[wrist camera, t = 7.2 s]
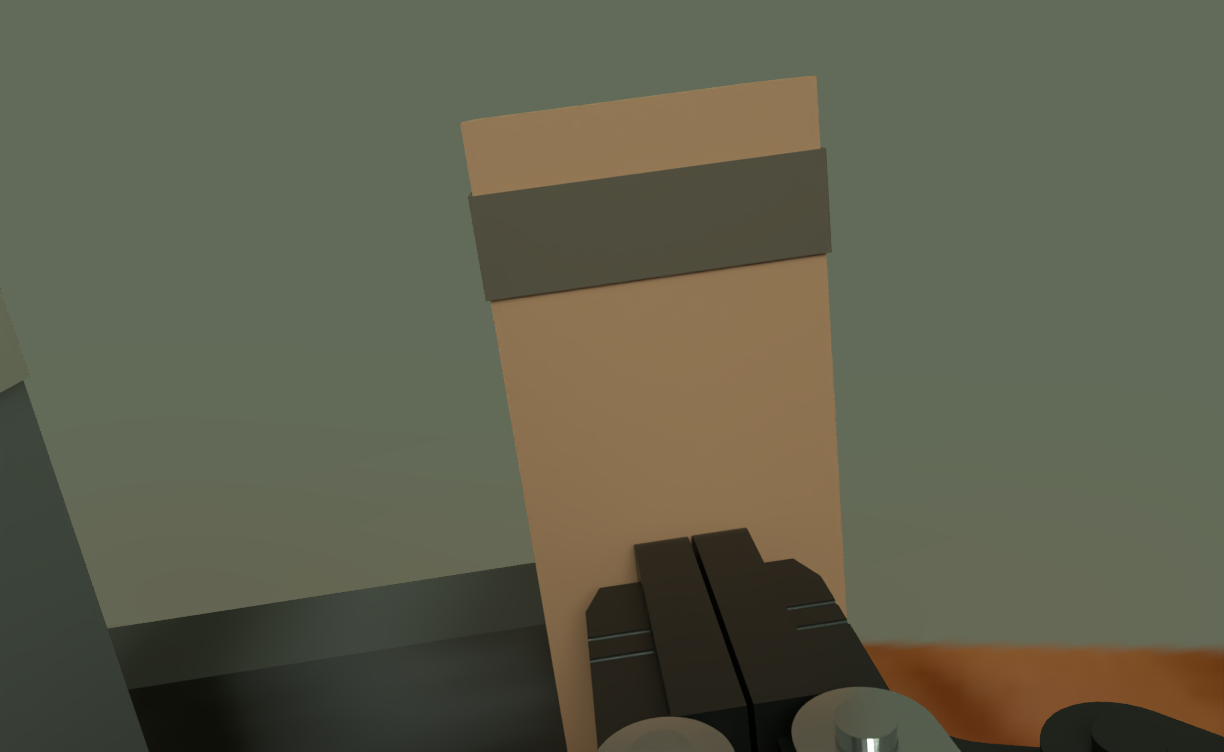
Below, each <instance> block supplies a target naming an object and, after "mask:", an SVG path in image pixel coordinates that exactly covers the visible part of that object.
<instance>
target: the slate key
mask: <svg viewBox="0 0 1224 752" xmlns="http://www.w3.org/2000/svg"><path fill="white" fill-rule="evenodd" d="M28 377H30V375H29V372H28V369H27V366H26V363H25V360H24V357H23V354H22V351H21V349H20V346H19V343H18V339H17V337H16V334H15V331H14V328H13V325H12V322H11V319H10V316H9V313H8V310H7V307H6V304H5V301H4V298H3V295H2V292H1V289H0V752H149V751H148V748H147V745H146V742H145V739H144V736H143V733H142V730H141V727H140V724H139V721H138V718H137V715H136V712H135V709H134V706H133V703H132V701H131V698H130V695H129V692H128V689H127V686H126V683H125V680H124V677H123V674H122V671H121V668H120V665H119V662H118V659H117V656H116V653H115V650H114V647H113V644H112V641H111V638H110V635H109V632H108V630H107V627H106V624H105V621H104V618H103V615H102V612H101V609H100V606H99V603H98V600H97V597H96V594H95V591H94V588H93V585H92V582H91V579H90V576H89V573H88V570H87V568H86V564H85V562H84V559H83V556H82V553H81V550H80V547H79V544H78V541H77V538H76V535H75V532H74V529H73V526H72V523H71V520H70V517H69V514H68V511H67V508H66V505H65V502H64V499H63V497H62V494H61V490H60V488H59V485H58V482H57V479H56V476H55V473H54V470H53V467H52V464H51V461H50V458H49V455H48V452H47V449H46V446H45V443H44V440H43V437H42V434H41V431H40V429H39V425H38V422H37V419H36V417H35V414H34V411H33V408H32V405H31V402H30V399H29V396H28V393H27V390H26V387H25V384H24V381H23V380H25V379H27V378H28Z"/></svg>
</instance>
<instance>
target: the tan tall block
mask: <svg viewBox="0 0 1224 752" xmlns="http://www.w3.org/2000/svg"><path fill="white" fill-rule="evenodd" d="M460 124H461V130H462V135H463V141H464V148H465V154H466V159H467V165H468V171H469V176H470V183H471V189H472V192H471V194H470V195H469V197H468V200H469V206H470V211H471V217H472V223H473V228H474V234H475V240H476V246H477V252H478V258H479V263H480V269H481V275H482V280H483V287H484V293H485V299H486V301H491V306H492V312H493V317H494V323H495V328H496V335H497V341H498V347H499V353H500V358H501V364H502V370H503V376H504V382H505V388H506V394H507V400H508V405H509V411H510V417H511V423H512V429H513V435H514V440H515V446H516V452H517V457H518V464H519V470H520V475H521V482H522V487H523V493H524V499H525V504H526V511H527V516H528V522H529V528H530V534H531V540H532V546H533V551H534V558H535V564H536V569H537V575H538V581H539V587H540V593H541V599H542V605H543V610H544V616H545V622H546V628H547V634H548V640H549V646H550V651H551V657H552V663H553V669H554V675H555V681H556V687H557V692H558V698H559V704H560V710H561V716H562V722H563V728H564V733H565V739H566V745H567V751H568V752H597V735H596V724H595V713H594V702H593V691H592V679H591V668H590V657H589V646H588V635H587V624H586V613H585V612H586V610H587V609H588V607H589V605H590V603H591V602H592V600H593V598H594V597H595V595H596V593H597V591H598V590H599V588H602V587H609V586H616V585H622V584H629V583H635V582H638V578H637V570H636V563H635V555H634V544H640V543H647V542H653V541H660V540H667V539H673V538H680V537H688V538H689V540H690V543H691V536H692V535H699V534H705V533H712V532H719V531H725V530H732V529H738V528H747V529H748V531H749V533H750V535H751V537H752V539H753V541H754V543H755V545H756V547H757V549H758V551H759V553H760V555H761V557H762V559H763V561H764V563H765V562H772V561H778V560H785V559H791V558H793V559H795V560H797V561H798V562H800V563H801V564H803V565H804V566H806V567H808V568H809V569H811V570H812V571H814V572H816V573H817V574H819V575H820V576H821V577H822V579H823V580H824V582H825V584H826V585H827V587H828V589H829V590H830V592H831V594H832V595H833V597H834V599H835V603H836V604H838V605H839V607H840V608H841V610H842V612H843V613H844V615H845V617H846V618H847V614H846V595H845V577H844V559H843V542H842V524H841V506H840V489H839V470H838V453H837V435H836V417H835V399H834V383H833V365H832V347H831V328H830V310H829V292H828V275H827V257H826V253H829V252H832V249H831V231H830V213H829V194H828V175H827V156H826V148H822V147H820V134H819V115H818V97H817V79H816V76H806V77H798V78H788V79H779V80H770V81H760V82H752V83H744V84H737V85H729V86H722V87H714V88H707V89H699V90H691V91H684V92H676V93H669V94H662V95H654V96H647V97H639V98H631V99H625V100H617V101H610V102H602V103H594V104H587V105H579V106H572V107H564V108H557V109H549V110H541V111H534V112H526V113H519V114H511V115H504V116H496V117H489V118H481V119H475V120H471V121H466V122H462V123H460Z"/></svg>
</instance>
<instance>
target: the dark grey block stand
mask: <svg viewBox="0 0 1224 752" xmlns="http://www.w3.org/2000/svg"><path fill="white" fill-rule="evenodd" d="M107 630H108V632H109V635H110V638H111V641H112V644H113V647H114V650H115V653H116V656H117V659H118V662H119V665H120V668H121V671H122V674H123V677H124V680H125V683H126V686H127V689H128V692H129V695H130V698H131V701H132V703H133V706H134V709H135V712H136V715H137V718H138V721H139V724H140V727H141V730H142V733H143V736H144V739H145V742H146V745H147V748H148V751H149V752H568V751H567V745H566V739H565V733H564V728H563V722H562V716H561V710H560V704H559V698H558V692H557V687H556V681H555V675H554V669H553V663H552V657H551V651H550V646H549V640H548V634H547V628H546V622H545V616H544V610H543V605H542V599H541V593H540V587H539V581H538V575H537V569H536V564H535V563H530V564H523V565H517V566H510V567H504V568H497V569H491V570H485V571H478V572H472V573H465V574H458V575H452V576H446V577H439V578H433V579H426V580H420V581H413V582H407V583H400V584H394V585H387V586H381V587H374V588H369V589H362V590H355V591H349V592H342V593H336V594H329V595H323V596H317V597H310V598H303V599H297V600H290V601H284V602H278V603H271V604H265V605H258V606H252V607H245V608H239V609H233V610H226V611H219V612H213V613H206V614H201V615H194V616H187V617H181V618H174V619H168V620H162V621H155V622H148V623H142V624H135V625H129V626H122V627H116V628H110V629H107Z"/></svg>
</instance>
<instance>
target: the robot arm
mask: <svg viewBox="0 0 1224 752" xmlns="http://www.w3.org/2000/svg"><path fill="white" fill-rule="evenodd" d="M634 555H635V563H636V570H637V578H638V582H635V583H629V584H622V585H616V586H609V587H602V588H599V590H598V591H597V593H596V595H595V597H594V598H593V600H592V602H591V603H590V605H589V607H588V609H587V610H586V612H585V613H586V624H587V635H588V646H589V657H590V668H591V679H592V691H593V702H594V713H595V724H596V735H597V752H1224V737H1222V736H1220V735H1217V734H1214V733H1212V732H1209V731H1206V730H1203V729H1201V728H1198V727H1195V726H1193V725H1190V724H1187V723H1184V722H1182V721H1179V720H1176V719H1174V718H1171V717H1168V716H1165V715H1163V714H1160V713H1157V712H1154V711H1151V710H1148V709H1145V708H1142V707H1137V706H1133V705H1128V704H1122V703H1114V702H1089V703H1081V704H1076V705H1072V706H1069V707H1066V708H1064V709H1061V710H1060V711H1058V712H1056V713H1054V714H1053V715H1052V716H1051V717H1050V718H1049V719H1048V720H1047V721H1046V722H1045V724H1044V726H1043V727H1042V730H1041V734H1040V747H1027V746H1014V745H1001V744H988V743H980V742H972V741H967V740H963V739H958V738H955V737H952V736H949V735H948V734H947V733H946V732H945V730H944V729H943V728H942V726H941V725H940V724H939V723H938V721H937V720H936V719H935V718H934V716H933V715H932V714H931V713H930V712H929V711H928V710H927V709H925V708H924V707H923V706H921V705H920V704H919V703H917V702H915V701H914V700H912V699H910V698H908V697H906V696H903V695H901V694H898V693H895V692H892V691H890V690H889V688H888V687H887V685H886V683H885V682H884V680H883V678H882V677H881V675H880V673H879V672H878V670H877V668H876V667H875V665H874V663H873V662H872V660H871V658H870V657H869V655H868V653H867V652H866V650H865V648H864V647H863V645H862V643H861V642H860V640H859V638H858V637H857V635H856V633H855V632H854V630H853V628H852V627H851V625H850V624H848V623H847V618H846V617H845V615H844V613H843V612H842V610H841V608H840V607H839V605H838V604H836V603H835V599H834V597H833V595H832V594H831V592H830V590H829V589H828V587H827V585H826V584H825V582H824V580H823V579H822V577H821V576H820V575H819V574H817V573H816V572H814V571H812V570H811V569H809V568H808V567H806V566H804V565H803V564H801V563H800V562H798V561H797V560H795V559H793V558H791V559H785V560H778V561H772V562H765V563H764V561H763V559H762V557H761V555H760V553H759V551H758V549H757V547H756V545H755V543H754V541H753V539H752V537H751V535H750V533H749V531H748V529H747V528H738V529H732V530H725V531H719V532H712V533H705V534H699V535H692V536H691V543H690V540H689V538H688V537H680V538H673V539H667V540H660V541H653V542H647V543H640V544H634Z"/></svg>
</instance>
